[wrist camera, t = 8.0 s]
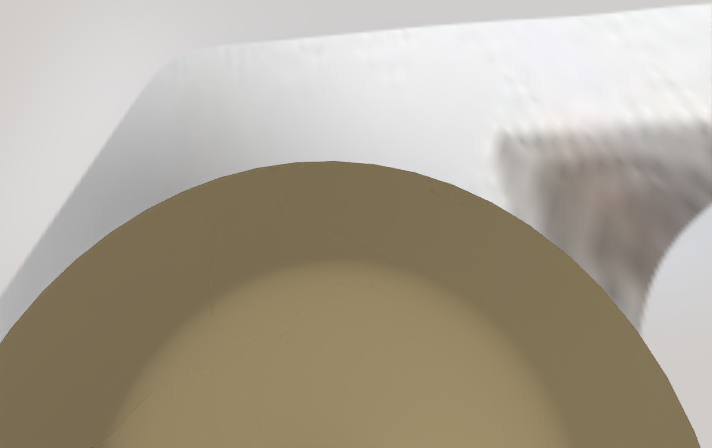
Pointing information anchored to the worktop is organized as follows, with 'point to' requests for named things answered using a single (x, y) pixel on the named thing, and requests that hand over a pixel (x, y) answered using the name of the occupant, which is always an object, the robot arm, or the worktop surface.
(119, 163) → the worktop surface
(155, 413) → the brass flanged cylinder
